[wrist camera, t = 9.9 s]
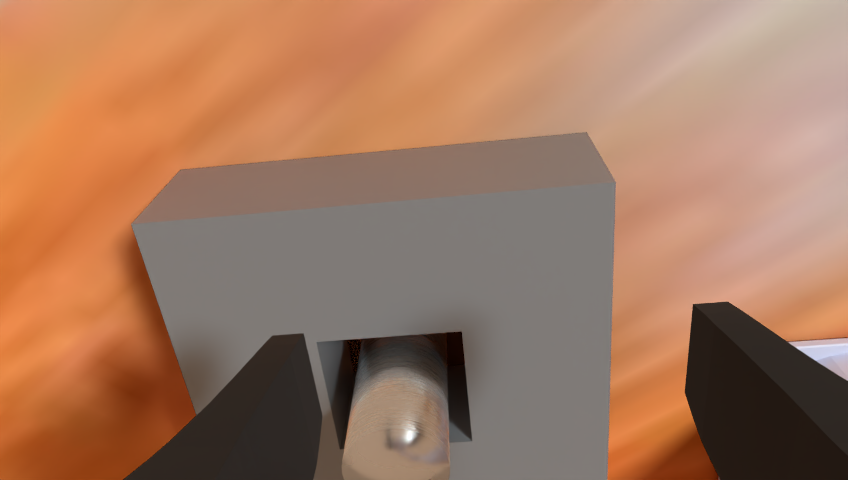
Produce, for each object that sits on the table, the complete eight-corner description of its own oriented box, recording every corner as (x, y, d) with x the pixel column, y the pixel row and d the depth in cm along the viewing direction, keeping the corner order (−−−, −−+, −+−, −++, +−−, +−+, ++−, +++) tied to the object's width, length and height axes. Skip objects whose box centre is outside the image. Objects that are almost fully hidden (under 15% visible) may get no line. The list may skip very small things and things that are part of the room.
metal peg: (443, 288, 24) (446, 426, 18) (448, 355, 26) (453, 505, 19) (359, 293, 24) (334, 432, 18) (369, 360, 26) (349, 510, 20)
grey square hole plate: (586, 132, 21) (615, 181, 18) (584, 443, 27) (606, 526, 24) (180, 169, 22) (131, 224, 19) (265, 463, 28) (240, 545, 25)
